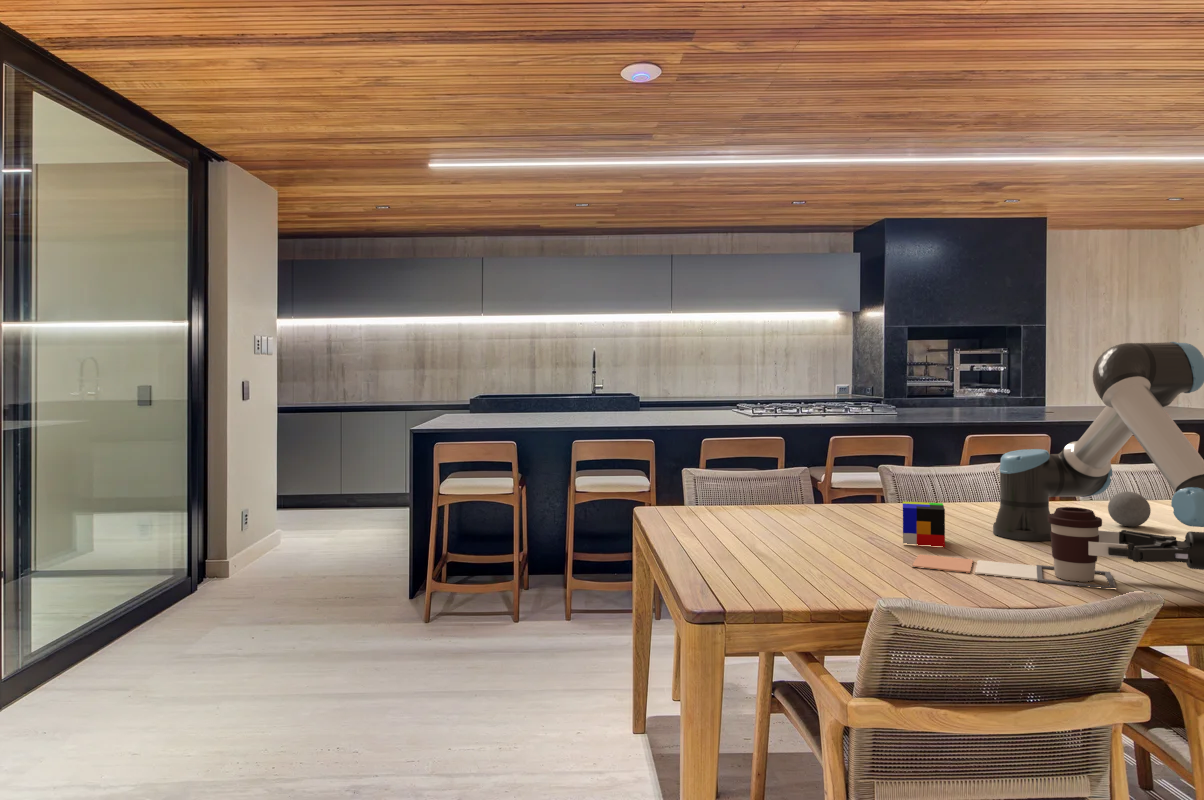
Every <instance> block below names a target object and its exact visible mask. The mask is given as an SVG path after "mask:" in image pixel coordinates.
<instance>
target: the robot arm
mask: <svg viewBox="0 0 1204 800" xmlns="http://www.w3.org/2000/svg"><path fill="white" fill-rule="evenodd" d="M1092 382H1093V383H1092V384H1093V386H1094V389H1095V392H1096V393H1097V396H1098V397H1099V399H1100V400H1101V401H1102V402H1103V403H1104V405H1105V407H1103V409H1102V411H1100V412H1099V414H1098V415H1097V417H1096V418H1095V419H1094V420H1093V422H1092V423H1091V424H1090V425H1089V427H1088V428H1087V429H1086V430H1085V432H1084V433H1083V434H1082V436H1081V437H1080V438H1079V439H1078V440H1077V441H1076V440H1075V441H1071V442H1069V443H1068V444H1066V445H1064V448H1063V449H1062V450H1061V452H1059V453H1049V451H1048V450H1046V449H1042V448H1041V449H1040V448H1033V449H1031V448H1030V449H1027V448H1026V449H1017V450H1011V451H1008V452H1006V453H1004V454H1002V455H1001V457H1000V463H999V469H998V471H999V482H1000V483H999V509H998V511H997V514H996V518H995V522H993V524H992V525H993V526H992V534H994V535H995V536H997V535H998V537H1002V538H1004V539H1011V540H1019V541H1029V542H1032V541H1033V542H1046V541H1047V542H1048V541H1051V523H1049V522H1048V515H1049V514H1051V512H1050V498H1051V497H1052V498H1057V497H1059V498H1061V497H1062V498H1063V497H1064V498H1066V497H1070V498H1071V497H1074V498H1075V497H1083V498H1085V497H1087V498H1088V497H1092V496H1098V495H1100V494H1102V493H1104V492H1105V491H1106V490H1107V489H1108V488H1109V487H1110V485H1111V483H1112V479H1111V477H1113V468H1112V463H1111V460H1112V459H1113V458H1114V457H1115V455H1116V454H1117V453H1118V452H1119V451H1120V450H1121V449H1122V448H1123V447H1124V445H1125V444H1126V443H1127V442H1129V439H1130V438H1131V437H1132V436H1134V438H1135V439H1136V440H1137V442H1138V443H1139V444H1140V446H1141V448H1142V449H1143V450H1144V452H1145V453H1146V455H1147V456H1148V457H1149V459H1150V460H1151V462H1152V463H1153V464H1154V466H1156V468H1157V470H1158V472H1159V473H1160V474H1161V475H1162V476H1163V478H1164V479H1165V480H1166V482H1167V484H1168V485H1169V486H1170V487H1171V489H1172V490H1173V491H1174V493H1173V496H1172V497H1171V507H1172V509H1173V512H1172V513H1173V515H1174V517H1175V518H1176V519H1177V520H1178V522H1180V523H1181V524H1183V525H1185V526H1188V527H1193V528H1194V527H1197V528H1204V459H1203V457H1202V456H1201V454H1200V453H1199V452H1198V450H1197V449H1196V448H1195V447H1194V445H1193V444H1192V443H1191V442H1190V440H1189V439H1188V438H1187V436H1186V435H1185V434H1184V433H1183V431H1182V430H1181V429H1180V428H1179V426H1178V425H1177V423H1176V422H1175V421H1174V420H1173V418H1172V417H1171V416H1170V414H1169V413H1168V412H1167V411H1166V409H1165V408H1166V407H1168V406H1169V405H1171V403H1172V402H1174V400H1175V399H1176V398H1177V397H1178V396H1179V395H1181V394H1182V393H1183V394H1190V393H1194V392H1197V391H1198V390H1200V388H1201V387H1202V386H1203V385H1204V355H1203V354H1202V352H1201V351H1200V350H1199V349H1198V348H1197V347H1196V346H1195V345H1193V344H1191V343H1187V342H1177V341H1170V342H1169V341H1167V342H1124V343H1120V344H1117V345H1116V344H1115V345H1113V346H1111V347H1109V348H1108V349H1106V350H1105V351H1104V352H1102V354H1100V356H1099V357H1098V358H1097V360H1096V361H1095V363H1094V367H1093V369H1092ZM1098 535H1099V542H1089V541H1088V555H1093V556H1097V557H1103V558H1104V557H1106V558H1118V559H1128V560H1130V561H1133V562H1135V563H1169V562H1170V563H1173V562H1174V563H1184V564H1186V566H1187V567H1188V569H1191V570H1200V571H1201V570H1202V571H1204V532H1202V531H1192V530H1191V531H1190V530H1189V531H1188V532H1186V534H1185V537H1184V540H1183V541H1182V540H1177V536H1174V535H1171V536H1170V535H1162V534H1160V535H1159V534H1155V533H1154V534H1153V533H1147V532H1139V531H1133V530H1132V531H1131V530H1127V529H1122V530H1121V531H1114V530H1102V529H1101V530H1100V529H1098Z"/></svg>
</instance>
